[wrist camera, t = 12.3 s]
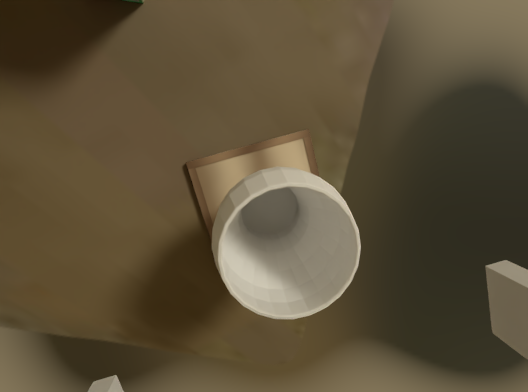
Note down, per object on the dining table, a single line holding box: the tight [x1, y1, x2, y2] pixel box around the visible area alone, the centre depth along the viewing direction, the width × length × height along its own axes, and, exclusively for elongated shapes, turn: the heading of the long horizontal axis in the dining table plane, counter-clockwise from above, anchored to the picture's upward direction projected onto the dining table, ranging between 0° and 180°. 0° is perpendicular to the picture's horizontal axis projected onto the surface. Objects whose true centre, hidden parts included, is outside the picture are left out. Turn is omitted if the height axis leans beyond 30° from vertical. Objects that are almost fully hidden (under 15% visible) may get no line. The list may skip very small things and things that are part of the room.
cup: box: [212, 167, 361, 319], centre depth 26 cm, size 11×11×15 cm
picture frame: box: [186, 129, 319, 243], centre depth 34 cm, size 14×14×1 cm
